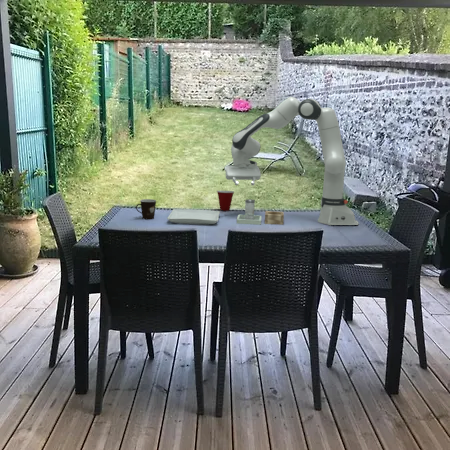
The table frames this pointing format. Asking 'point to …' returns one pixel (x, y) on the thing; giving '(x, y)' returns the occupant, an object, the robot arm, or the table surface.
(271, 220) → the holder
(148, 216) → the coffee mug
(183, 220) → the square plate
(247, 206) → the canister
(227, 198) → the plastic cup
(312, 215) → the table surface
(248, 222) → the tray
